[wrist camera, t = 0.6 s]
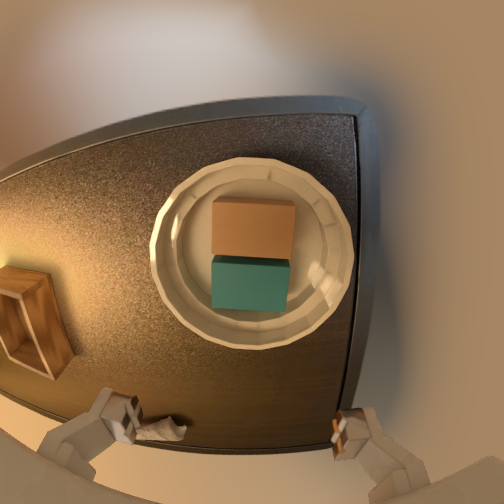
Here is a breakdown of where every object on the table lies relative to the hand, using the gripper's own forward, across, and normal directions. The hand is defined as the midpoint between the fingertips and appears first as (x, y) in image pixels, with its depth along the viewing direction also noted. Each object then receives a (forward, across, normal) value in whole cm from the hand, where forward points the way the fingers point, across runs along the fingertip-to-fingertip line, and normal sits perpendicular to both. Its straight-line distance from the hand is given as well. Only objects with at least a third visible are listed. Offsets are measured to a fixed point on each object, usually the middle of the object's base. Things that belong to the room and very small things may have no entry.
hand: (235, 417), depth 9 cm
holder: (+16, +29, +9) cm, 34 cm away
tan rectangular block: (+15, 0, -4) cm, 16 cm away
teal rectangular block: (+15, 0, +1) cm, 15 cm away
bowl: (+16, 0, -2) cm, 16 cm away
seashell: (+16, +14, +26) cm, 34 cm away
